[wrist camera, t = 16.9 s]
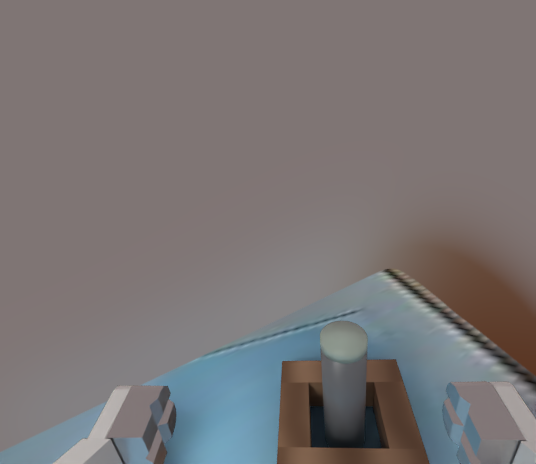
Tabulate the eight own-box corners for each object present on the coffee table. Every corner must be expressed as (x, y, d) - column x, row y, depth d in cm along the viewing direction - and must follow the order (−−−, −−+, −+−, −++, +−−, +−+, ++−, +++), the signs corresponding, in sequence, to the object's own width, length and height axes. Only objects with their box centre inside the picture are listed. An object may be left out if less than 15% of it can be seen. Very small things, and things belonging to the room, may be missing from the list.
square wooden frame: (280, 507, 31) (276, 483, 29) (285, 384, 42) (282, 361, 40) (431, 513, 29) (437, 487, 27) (393, 383, 41) (395, 359, 39)
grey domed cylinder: (326, 456, 34) (321, 355, 28) (323, 418, 38) (318, 321, 31) (367, 457, 34) (371, 354, 27) (361, 419, 37) (363, 320, 31)
